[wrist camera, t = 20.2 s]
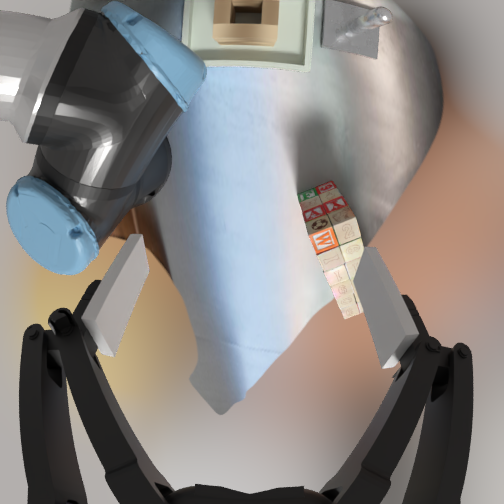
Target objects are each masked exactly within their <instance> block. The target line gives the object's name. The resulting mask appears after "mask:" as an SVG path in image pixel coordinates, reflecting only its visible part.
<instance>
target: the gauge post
mask: <svg viewBox="0 0 504 504" xmlns="http://www.w3.org/2000/svg"><path fill="white" fill-rule="evenodd" d="M392 20H393V15H392V13H391V11H390V10H388V9H387V8H385V7H376V8H374V9H372V10H369V9H365V8H362V7H358V6H355V5H351V4H347V3H343V2H339V1H334V0H324V13H323V29H322V43H321V47H323V48H329V49H334V50H339V51H343V52H348V53H352V54H356V55H360V56H364V57H367V58H371V59H377V55H378V42H379V26H383V25H386V24H389V23H390V22H391V21H392Z"/></svg>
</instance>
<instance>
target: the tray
mask: <svg viewBox="0 0 504 504" xmlns="http://www.w3.org/2000/svg"><path fill="white" fill-rule="evenodd" d="M214 3H215V0H185V2H184V14H183V29H182V43H183V44H185V45H186V46H187V47H188V48H190V49H191V50H192V51H193V52H195V53H196V54H197V55H198V56H199V57H200V58H201V59H202V60H203V61H204V63H205V65H206V67H253V68H269V69H280V70H290V71H298V72H306V73H308V72H310V68H311V56H312V43H313V29H314V13H315V0H279V18H278V35H277V41H276V43H275V45H274V47H271V46H253V45H220V44H219V43H218V42H217V41H215V40H214V39H213V38H212V36H213V18H214ZM261 17H262V13H236V18H235V24H261Z"/></svg>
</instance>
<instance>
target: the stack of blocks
mask: <svg viewBox="0 0 504 504" xmlns="http://www.w3.org/2000/svg"><path fill="white" fill-rule="evenodd" d="M297 196H298V200H299V204H300V206H301V209H302V214H303V218H304V221H305V224H306V228H307V232H308V236H309V238H310V241H311V243H312V245H313V247H314V250H315V252H316V255H317V257H318V260H319V262H320V264H321V266H322V268H323V272H324V274H325V277H326V279H327V281H328V284H329V286H330V287H331V290H332V292H333V295H334V297H335V299H336V300H337V303H338V306H339V308H340V309H341V312H342V314H343V317H344V319H346V318H349V317H352V316H355V315H358V314H360V313H362V312H364V311H363V308H362V305H361V302H360V300H359V297H358V294H357V291H356V289H355V286H354V283H353V280H354V277H355V274H356V271H357V268H358V266H359V263H360V260H361V257H362V254H363V251H364V246H363V242H362V238H361V234H360V230H359V226H358V223H357V219H356V217H355V215H354V213H353V212H352V210H351V209H350V207H349V205H348V204H347V202H346V200H345V199H344V197H343V196H342V195H341V193H340V192H339V190H338V188H337V186H336V185H335V184H334V182H333V181H330V182H327V183H325V184H322V185H320V186H317V187H315V188H313V189H310V190H308V191H305V192H303V193H300V194H298V195H297Z"/></svg>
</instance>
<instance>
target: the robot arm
mask: <svg viewBox="0 0 504 504" xmlns="http://www.w3.org/2000/svg"><path fill="white" fill-rule="evenodd" d="M101 11H102V12H101V13H97V12H94V11H91V10H88V9H85V8H79V9H76V10H74V11H72V12H70V13H68V14H66V15H63V16H61V17H59V18H55V19H50V18H45V17H40V16H35V15H30V14H24V13H18V12H11V11H1V10H0V120H3V121H9V122H10V123H11V124H12V125H13V126H14V128H15V130H16V132H17V133H18V135H19V137H20V139H21V141H22V142H24V143H29V144H36V145H38V148H37V152H36V155H35V159H34V163H33V167H32V169H31V171H30V173H29V174H28V175H27V176H24V177H21V178H20V179H19V180H17V182H16V184H15V185H14V186H13V187H12V188H11V190H10V192H9V194H8V197H7V203H6V207H7V208H6V209H7V217H8V221H9V224H10V227H11V229H12V231H13V234H14V235H15V237H16V238H17V240H18V242H19V244H20V245H21V246H22V248H23V249H24V250H25V251H26V252H27V254H28V255H29V256H30V257H31V258H32V259H33V260H35V261H36V262H37V263H39V264H40V265H41V266H43V267H44V268H46V269H48V270H50V271H52V272H54V273H58V274H66V275H74V274H78V273H80V272H81V271H83V270H84V269H85V268H86V267H87V266H88V265H89V263H90V262H91V261H92V260H94V259H95V258H96V257H97V256H98V254H99V250H100V248H101V247H102V245H103V244H104V243H105V241H106V240H107V238H108V237H109V236H110V235H111V233H112V232H113V231H114V229H115V228H116V227H117V225H118V224H119V223H120V221H121V220H122V219H123V218H124V216H125V215H126V214H127V213H128V211H129V210H130V209H132V208H134V207H137V206H139V205H142V204H144V203H146V202H148V201H150V200H151V199H152V198H153V197H155V196H156V195H157V194H158V192H159V191H160V190H161V189H162V187H163V186H164V184H165V183H166V181H167V179H168V177H169V174H170V170H171V164H172V156H171V149H170V146H169V143H168V140H167V138H166V136H167V134H168V133H169V131H170V130H171V128H172V127H173V125H174V124H175V122H176V121H177V119H178V118H179V117H180V115H181V114H182V112H186V111H187V110H188V104H189V103H190V101H191V100H192V98H193V97H194V95H195V94H196V92H197V91H198V90H199V88H200V87H201V85H202V84H203V82H204V81H205V78H206V75H207V69H206V65H205V63H204V61H203V60H202V59H201V58H200V57H199V56H198V55H197V54H196V53H195V52H193V51H192V50H191V49H190V48H188V47H187V46H186V45H185V44H183V43H182V42H181V41H179V40H178V39H177V38H175V37H174V36H173V35H171V34H170V33H168V32H167V31H166V30H164V29H163V28H161V27H160V26H158V25H157V24H155V23H154V22H152V21H151V20H149V19H147V18H146V17H144V16H142V15H141V14H139V13H138V12H136V11H134V10H133V9H131V8H130V7H128V6H126V5H124V4H123V3H121V2H118V1H111V2H110V3H108V4H107V5H105V6H103V7H102V9H101ZM149 271H150V270H149V266H148V261H147V256H146V251H145V246H144V241H143V236H142V234H130V236H129V237H128V239H127V241H126V242H125V244H124V245H123V247H122V248H121V250H120V251H119V253H118V255H117V256H116V258H115V259H114V261H113V263H112V264H111V266H110V268H109V269H108V271H107V273H106V274H105V276H104V278H103V279H102V280H95V281H94V282H92V283H91V284H90V285H89V286H88V288H87V290H86V291H85V294H84V295H83V296H82V298H81V300H80V302H79V304H78V305H77V307H76V309H75V311H74V312H73V314H72V313H71V312H70V310H69V309H67V308H59V309H57V310H55V311H54V312H53V313H52V314H51V315H50V317H49V319H48V324H49V326H50V327H51V329H52V330H44V329H43V327H42V326H41V325H40V324H33V325H31V326H29V327H28V328H27V329H26V331H25V333H24V336H23V344H22V354H21V364H20V381H19V418H20V434H21V445H22V453H23V460H24V467H25V473H26V478H27V483H28V504H88V503H87V497H86V492H85V488H84V485H83V481H82V477H81V474H80V469H79V465H78V461H77V456H76V452H75V447H74V441H73V435H72V429H71V423H70V416H69V407H68V397H67V385H66V377H67V381H68V384H69V387H70V389H71V393H72V396H73V399H74V401H75V404H76V407H77V410H78V412H79V415H80V417H81V420H82V422H83V425H84V427H85V429H86V432H87V434H88V436H89V439H90V441H91V443H92V445H93V447H94V449H95V451H96V453H97V455H98V457H99V459H100V461H101V463H102V465H103V467H104V469H105V472H106V473H105V479H106V482H107V483H108V485H109V487H110V489H111V491H112V492H113V494H114V496H115V497H116V499H117V500H118V502H119V503H120V504H380V503H381V501H382V500H383V498H384V497H385V495H386V493H387V492H388V490H389V488H390V486H391V481H390V477H391V475H392V473H393V471H394V469H395V468H396V466H397V464H398V462H399V460H400V458H401V456H402V455H403V452H404V451H405V449H406V447H407V444H408V443H409V441H410V438H411V436H412V434H413V432H414V430H415V427H416V425H417V423H418V420H419V418H420V416H421V413H422V411H423V408H424V406H425V412H424V419H423V424H422V430H421V435H420V441H419V445H418V450H417V454H416V458H415V462H414V466H413V470H412V473H411V477H410V480H409V483H408V487H407V490H406V493H405V496H404V500H403V503H402V504H460V498H461V493H462V489H463V485H464V480H465V476H466V470H467V464H468V458H469V451H470V443H471V433H472V420H473V419H472V418H473V365H472V354H471V351H470V349H469V347H468V346H467V345H465V344H463V343H457V344H456V345H455V346H454V347H453V348H448V347H443V346H441V344H440V343H439V341H438V340H437V339H435V338H434V337H431V336H429V334H428V332H427V330H426V328H425V325H424V323H423V321H422V319H421V317H420V316H419V313H418V311H417V310H416V307H415V305H414V303H413V301H412V300H411V299H410V298H409V297H408V296H407V295H401V294H400V292H399V290H398V288H397V286H396V284H395V282H394V280H393V278H392V276H391V274H390V272H389V270H388V269H387V267H386V265H385V263H384V261H383V259H382V257H381V256H380V254H379V252H378V250H377V248H376V247H365V248H364V251H363V254H362V257H361V260H360V263H359V266H358V268H357V271H356V274H355V277H354V280H353V283H354V286H355V289H356V291H357V294H358V297H359V300H360V302H361V305H362V308H363V311H364V314H365V317H366V320H367V323H368V326H369V328H370V332H371V335H372V338H373V341H374V344H375V347H376V351H377V354H378V358H379V361H380V364H381V368H390V367H394V366H395V365H396V364H397V363H398V362H399V361H400V364H401V367H400V368H399V370H398V371H397V372H396V373H395V374H394V376H393V378H394V377H395V378H394V380H393V383H392V384H391V386H390V388H389V391H388V393H387V394H386V396H385V398H384V400H383V402H382V404H381V406H380V407H379V409H378V411H377V413H376V415H375V416H374V418H373V420H372V422H371V423H370V425H369V427H368V428H367V430H366V432H365V433H364V435H363V436H362V438H361V439H360V441H359V443H358V444H357V446H356V447H355V449H354V450H353V452H352V453H351V455H350V456H349V457H348V459H347V460H346V462H345V463H344V465H343V466H342V467H341V469H340V470H339V471H338V473H337V474H336V475H335V476H334V477H333V478H332V479H331V480H329V481H328V482H327V483H326V485H325V486H324V487H323V488H322V489H321V491H320V492H319V493H318V492H315V491H312V490H308V489H304V486H300V487H284V488H275V489H271V490H267V491H263V492H258V493H253V494H247V493H243V492H239V491H236V490H231V489H228V488H224V487H221V486H209V485H201V484H195V486H190V487H186V488H182V489H179V490H177V491H174V489H173V488H172V487H171V486H170V484H169V483H168V482H167V480H166V479H165V478H164V477H163V475H162V474H161V473H160V472H159V471H158V470H157V469H156V467H155V466H154V465H153V463H152V461H151V460H150V459H149V457H148V455H147V454H146V452H145V451H144V449H143V448H142V446H141V444H140V443H139V441H138V439H137V437H136V436H135V434H134V432H133V431H132V429H131V427H130V425H129V423H128V421H127V420H126V418H125V416H124V414H123V412H122V410H121V408H120V406H119V404H118V402H117V400H116V398H115V396H114V394H113V392H112V390H111V388H110V386H109V383H108V381H107V379H106V376H105V374H104V372H103V369H102V367H101V365H100V362H99V360H98V357H97V356H96V354H95V353H96V351H97V348H98V349H99V350H100V352H101V354H104V355H108V356H113V357H115V355H116V352H117V349H118V347H119V344H120V341H121V339H122V336H123V333H124V331H125V328H126V326H127V323H128V320H129V318H130V316H131V313H132V311H133V308H134V306H135V303H136V301H137V299H138V296H139V294H140V292H141V289H142V287H143V285H144V282H145V280H146V278H147V276H148V273H149ZM425 403H426V405H425Z"/></svg>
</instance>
